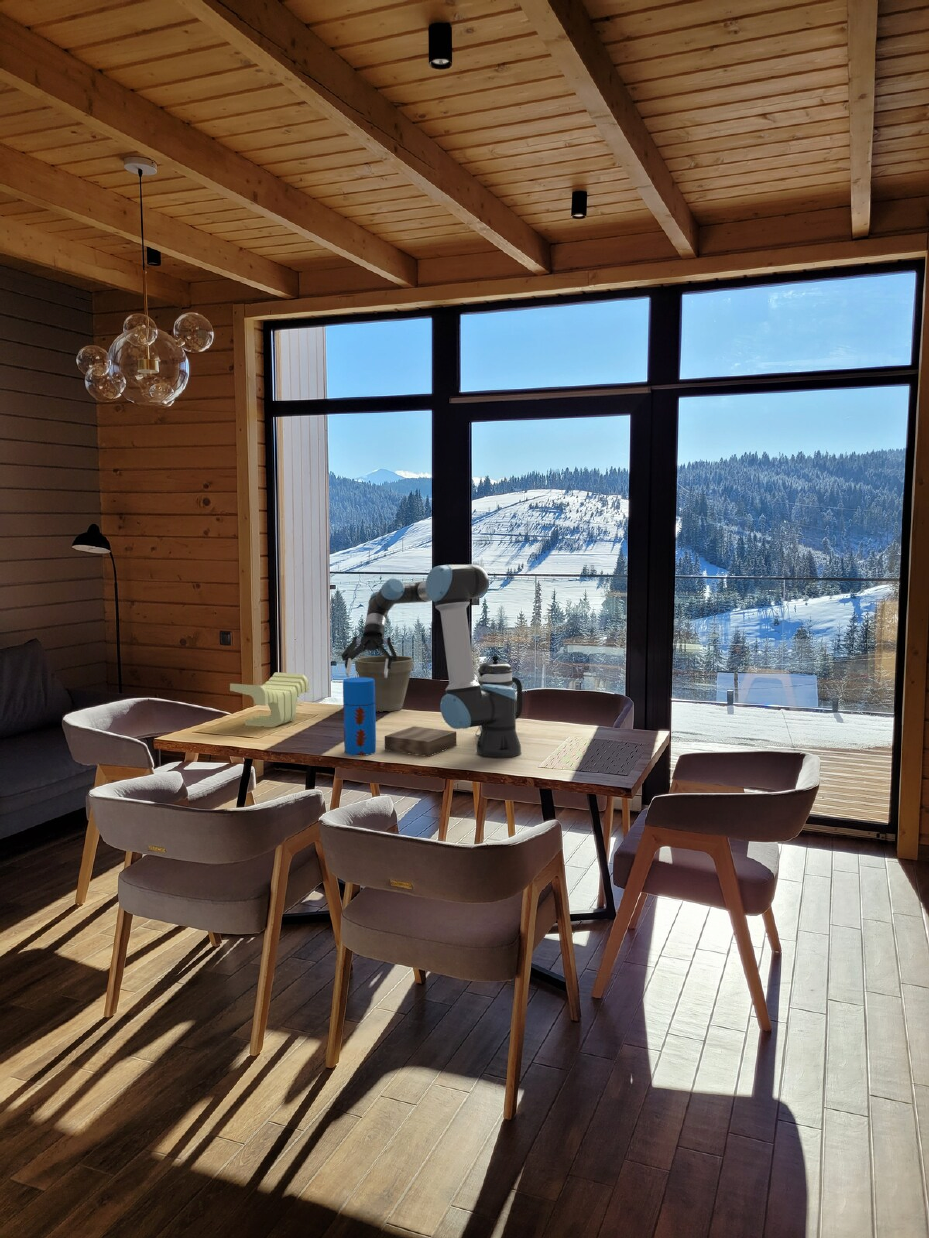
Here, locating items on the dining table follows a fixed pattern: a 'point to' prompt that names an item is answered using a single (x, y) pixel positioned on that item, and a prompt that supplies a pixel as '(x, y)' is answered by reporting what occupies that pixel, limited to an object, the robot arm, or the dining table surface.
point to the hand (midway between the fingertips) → (366, 675)
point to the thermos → (359, 716)
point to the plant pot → (386, 680)
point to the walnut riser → (420, 741)
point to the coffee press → (500, 679)
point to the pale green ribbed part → (275, 697)
